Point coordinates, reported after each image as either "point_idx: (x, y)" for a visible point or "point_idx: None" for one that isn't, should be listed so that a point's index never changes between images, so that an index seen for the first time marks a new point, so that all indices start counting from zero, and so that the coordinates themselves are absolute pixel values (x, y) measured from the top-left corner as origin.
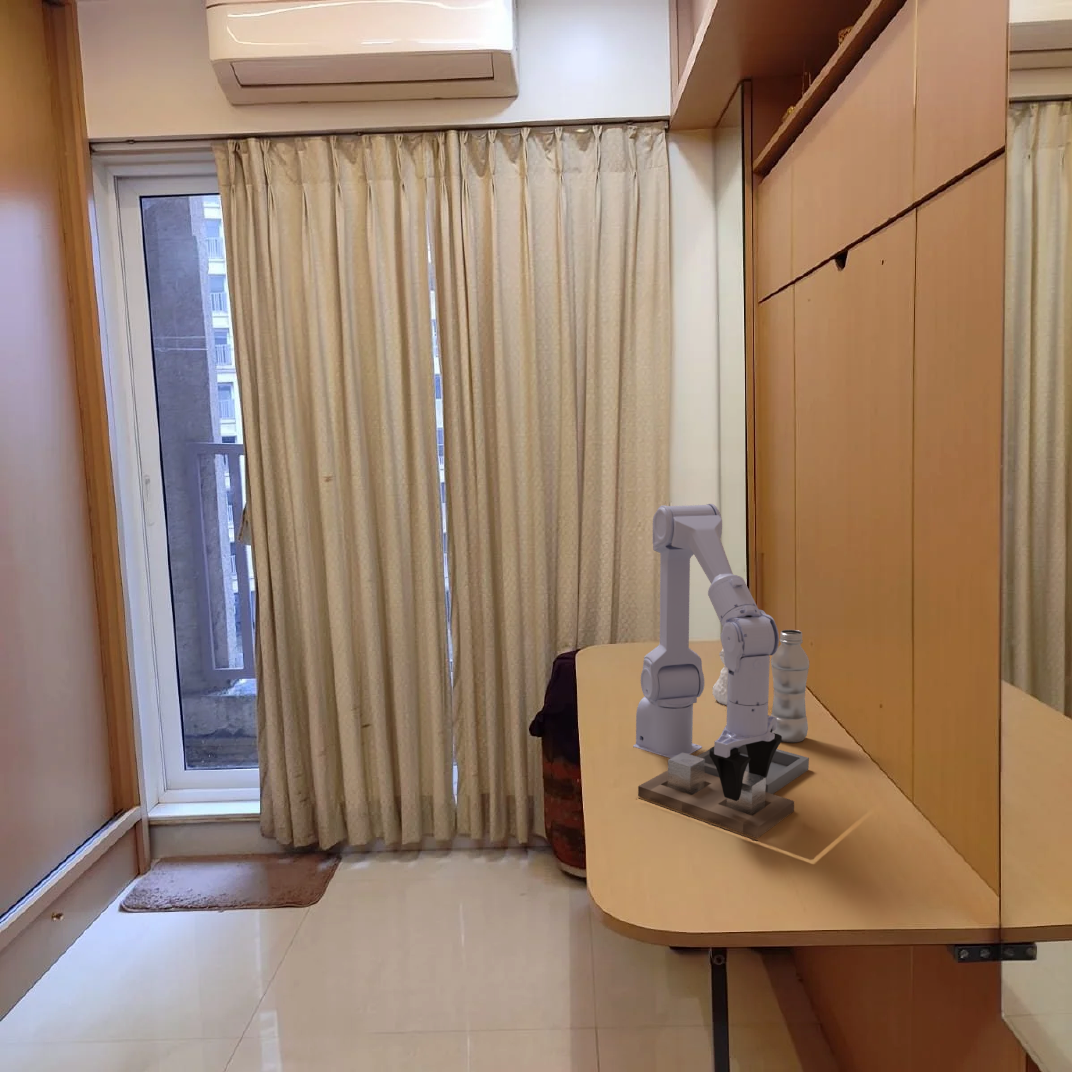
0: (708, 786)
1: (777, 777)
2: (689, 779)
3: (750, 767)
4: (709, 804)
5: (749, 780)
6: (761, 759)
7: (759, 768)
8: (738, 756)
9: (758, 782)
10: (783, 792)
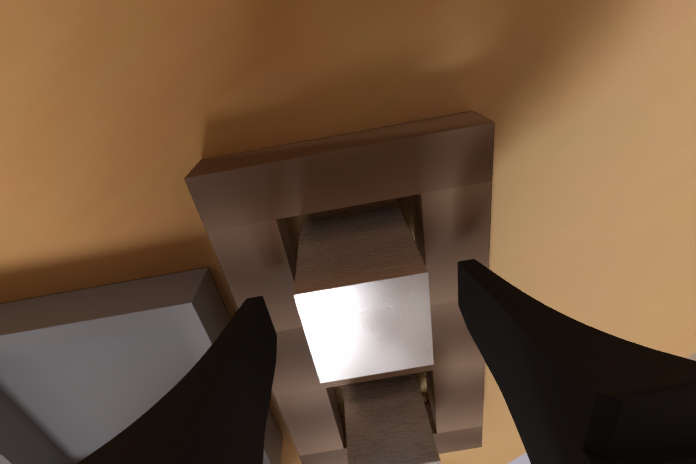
0: (350, 380)
1: (112, 319)
2: (428, 418)
3: (271, 379)
4: (448, 315)
5: (384, 311)
6: (242, 392)
7: (255, 356)
8: (652, 443)
9: (365, 281)
10: (114, 274)
